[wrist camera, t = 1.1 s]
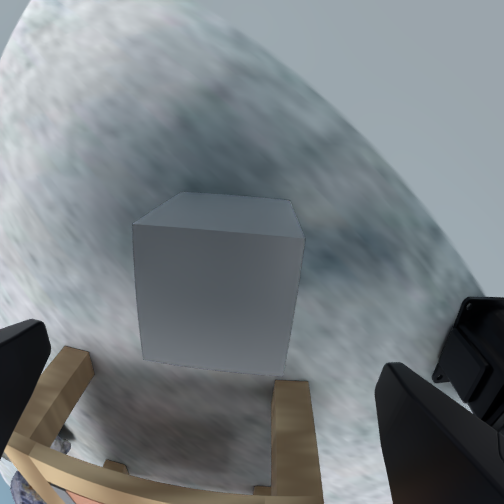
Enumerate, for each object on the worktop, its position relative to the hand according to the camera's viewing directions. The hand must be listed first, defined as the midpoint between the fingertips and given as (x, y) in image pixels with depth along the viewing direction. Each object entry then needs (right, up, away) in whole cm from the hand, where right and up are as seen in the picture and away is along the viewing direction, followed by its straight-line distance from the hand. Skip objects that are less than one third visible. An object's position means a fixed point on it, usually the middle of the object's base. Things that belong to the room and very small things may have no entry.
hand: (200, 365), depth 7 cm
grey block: (0, +3, +8) cm, 9 cm away
